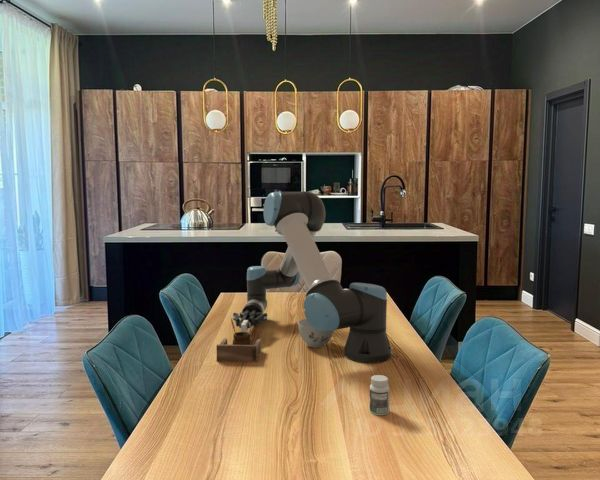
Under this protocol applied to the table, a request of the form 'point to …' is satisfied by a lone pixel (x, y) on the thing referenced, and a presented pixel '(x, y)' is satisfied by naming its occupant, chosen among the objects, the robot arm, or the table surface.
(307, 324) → the teacup
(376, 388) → the pill bottle
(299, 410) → the table surface
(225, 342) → the walnut corral
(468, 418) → the table surface
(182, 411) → the table surface
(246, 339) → the utensil holder
